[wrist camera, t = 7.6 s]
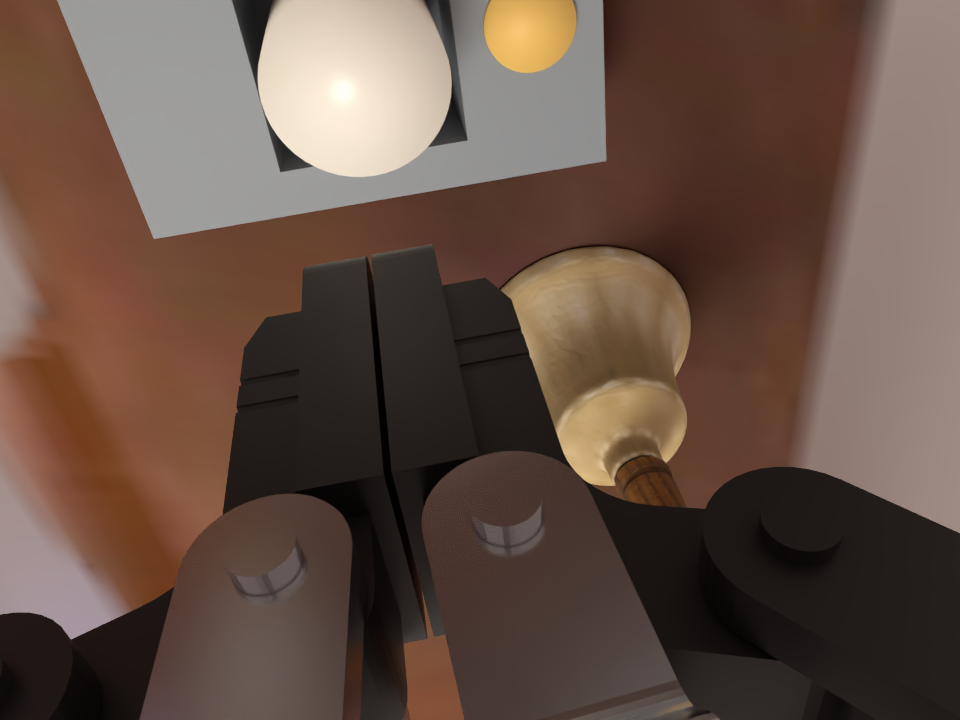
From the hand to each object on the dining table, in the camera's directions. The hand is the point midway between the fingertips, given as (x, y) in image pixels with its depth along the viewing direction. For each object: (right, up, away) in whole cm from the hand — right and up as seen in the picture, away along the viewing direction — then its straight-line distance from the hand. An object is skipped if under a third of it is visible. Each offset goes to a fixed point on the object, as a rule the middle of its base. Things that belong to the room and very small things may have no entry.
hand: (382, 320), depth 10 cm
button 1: (-2, +8, +10) cm, 13 cm away
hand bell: (+5, 0, +21) cm, 21 cm away
